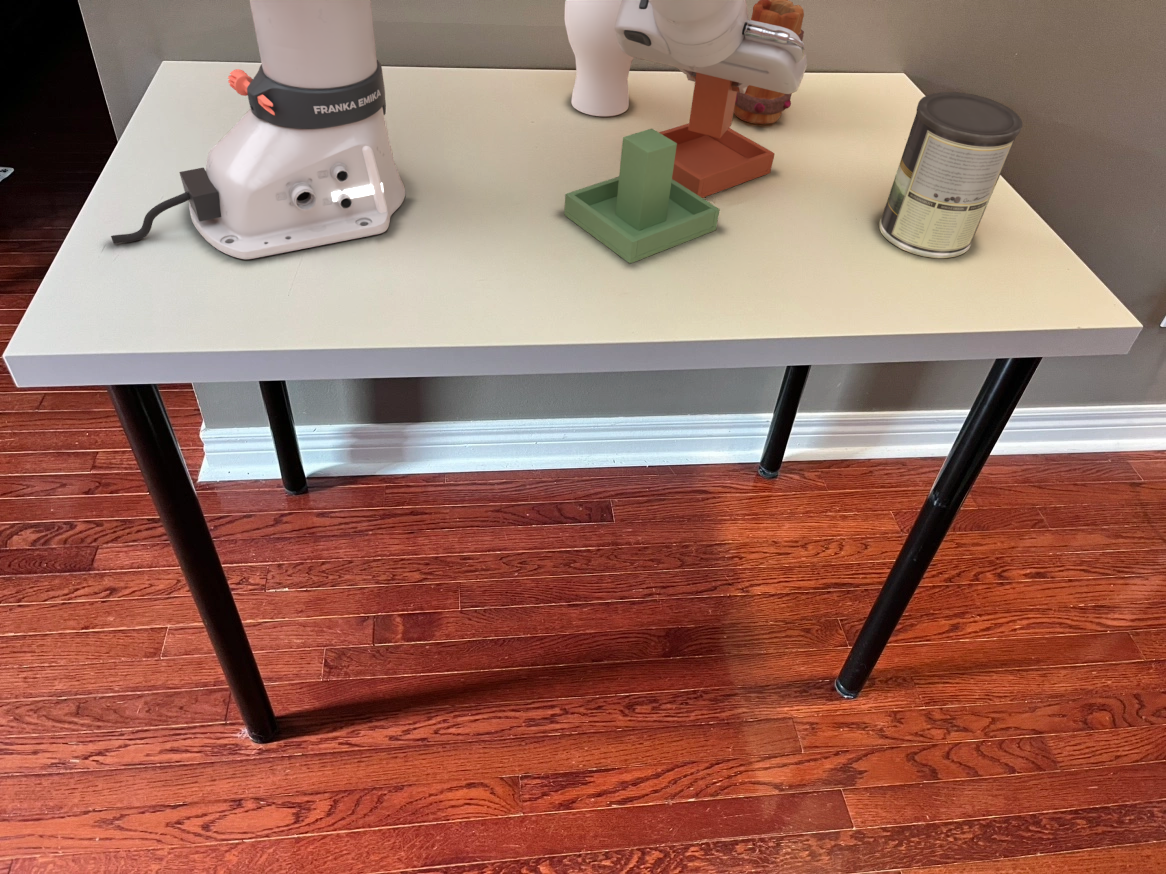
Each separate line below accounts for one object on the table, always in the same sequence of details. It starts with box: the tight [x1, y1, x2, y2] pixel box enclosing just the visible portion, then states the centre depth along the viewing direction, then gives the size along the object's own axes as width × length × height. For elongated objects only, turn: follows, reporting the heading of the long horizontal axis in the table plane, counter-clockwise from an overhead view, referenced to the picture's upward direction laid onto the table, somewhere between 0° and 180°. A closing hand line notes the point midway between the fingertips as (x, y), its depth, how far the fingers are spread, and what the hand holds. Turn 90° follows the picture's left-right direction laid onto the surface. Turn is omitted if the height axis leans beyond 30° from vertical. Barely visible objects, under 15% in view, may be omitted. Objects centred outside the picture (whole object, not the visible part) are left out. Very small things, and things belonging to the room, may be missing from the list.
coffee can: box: [878, 91, 1023, 259], centre depth 94 cm, size 10×10×14 cm
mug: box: [733, 0, 805, 125], centre depth 115 cm, size 15×8×15 cm, turn 168°
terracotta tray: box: [658, 122, 776, 199], centre depth 106 cm, size 12×11×3 cm
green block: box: [616, 128, 677, 231], centre depth 93 cm, size 4×4×9 cm
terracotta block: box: [688, 72, 737, 138], centre depth 100 cm, size 4×4×10 cm
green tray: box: [563, 175, 720, 265], centre depth 96 cm, size 12×11×3 cm
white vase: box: [563, 0, 634, 117], centre depth 113 cm, size 11×11×15 cm
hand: (718, 80), depth 101 cm, fingers closed on terracotta block, 4 cm apart
